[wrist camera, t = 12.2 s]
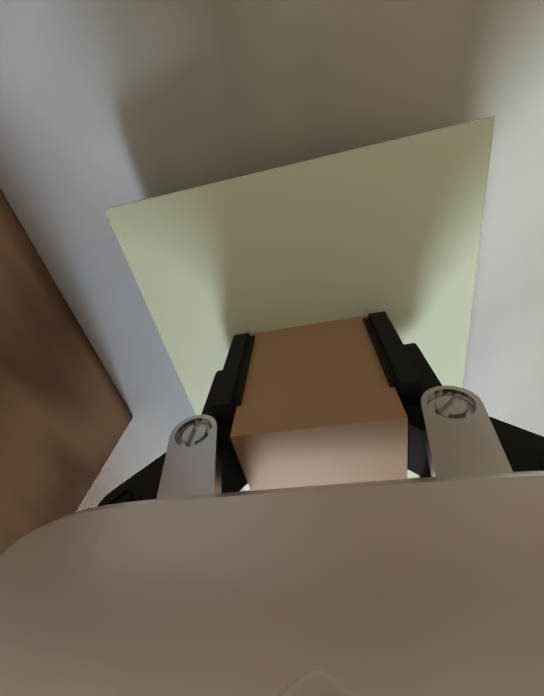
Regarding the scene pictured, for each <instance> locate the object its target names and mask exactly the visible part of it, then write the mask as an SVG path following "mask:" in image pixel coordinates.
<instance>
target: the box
mask: <svg viewBox="0 0 544 696" xmlns="http://www.w3.org/2000/svg"><path fill="white" fill-rule="evenodd" d="M132 418H133V416H132V414H131V413H130V411H129V409H128V408H127V406H126V404H125V402H124V401H123V399H122V397H121V396H120V394H119V392H118V391H117V389H116V387H115V385H114V384H113V382H112V380H111V379H110V377H109V375H108V373H107V372H106V370H105V368H104V367H103V365H102V363H101V361H100V360H99V358H98V356H97V355H96V353H95V351H94V349H93V348H92V346H91V344H90V343H89V341H88V339H87V337H86V336H85V334H84V332H83V331H82V329H81V327H80V325H79V324H78V322H77V320H76V319H75V317H74V315H73V314H72V312H71V310H70V308H69V307H68V305H67V303H66V302H65V300H64V298H63V296H62V295H61V293H60V291H59V290H58V288H57V286H56V284H55V283H54V281H53V279H52V278H51V276H50V274H49V272H48V271H47V269H46V267H45V266H44V264H43V262H42V260H41V259H40V257H39V255H38V254H37V252H36V250H35V249H34V247H33V245H32V243H31V242H30V240H29V238H28V237H27V235H26V233H25V231H24V230H23V228H22V226H21V225H20V223H19V221H18V219H17V218H16V216H15V214H14V213H13V211H12V209H11V207H10V206H9V204H8V202H7V201H6V199H5V197H4V195H3V194H2V192H1V190H0V555H1V554H2V553H3V552H5V551H6V550H7V549H8V548H9V547H10V546H11V545H12V544H13V543H15V542H16V541H17V540H18V539H20V538H21V537H23V536H25V535H26V534H28V533H30V532H31V531H33V530H35V529H37V528H39V527H41V526H42V525H45V524H47V523H49V522H52V521H54V520H56V519H58V518H61V517H63V516H66V515H69V514H72V513H75V512H76V510H77V509H78V507H79V505H80V504H81V502H82V500H83V499H84V497H85V495H86V494H87V492H88V490H89V489H90V487H91V485H92V484H93V482H94V480H95V479H96V477H97V476H98V474H99V472H100V471H101V469H102V467H103V466H104V464H105V462H106V461H107V459H108V457H109V456H110V454H111V452H112V451H113V449H114V447H115V446H116V444H117V442H118V441H119V439H120V437H121V436H122V434H123V432H124V431H125V429H126V428H127V426H128V424H129V423H130V421H131V419H132Z"/></svg>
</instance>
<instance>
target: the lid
mask: <svg viewBox="0 0 544 696" xmlns="http://www.w3.org/2000/svg"><path fill="white" fill-rule="evenodd" d="M494 118H495V117H489V118H483V119H478V120H474V121H469V122H465V123H461V124H457V125H453V126H448V127H444V128H440V129H436V130H432V131H428V132H423V133H419V134H415V135H411V136H407V137H403V138H398V139H394V140H390V141H386V142H382V143H377V144H373V145H369V146H365V147H361V148H357V149H352V150H348V151H344V152H340V153H336V154H332V155H327V156H323V157H319V158H315V159H311V160H306V161H302V162H298V163H294V164H290V165H286V166H281V167H277V168H273V169H269V170H265V171H261V172H256V173H252V174H248V175H244V176H240V177H235V178H231V179H227V180H223V181H219V182H215V183H210V184H206V185H202V186H198V187H194V188H190V189H185V190H181V191H177V192H173V193H169V194H165V195H160V196H156V197H152V198H148V199H144V200H139V201H135V202H131V203H127V204H123V205H119V206H115V207H112V208H108V209H105V210H104V211H105V213H106V215H107V218H108V220H109V222H110V224H111V227H112V229H113V231H114V233H115V236H116V238H117V240H118V242H119V245H120V247H121V249H122V251H123V254H124V256H125V258H126V260H127V263H128V265H129V267H130V269H131V272H132V274H133V276H134V278H135V280H136V283H137V285H138V287H139V289H140V292H141V294H142V296H143V298H144V301H145V303H146V305H147V307H148V310H149V312H150V314H151V316H152V319H153V321H154V323H155V325H156V328H157V330H158V332H159V334H160V337H161V339H162V341H163V343H164V346H165V348H166V350H167V352H168V355H169V357H170V359H171V361H172V364H173V366H174V368H175V370H176V373H177V375H178V377H179V379H180V382H181V384H182V386H183V388H184V391H185V393H186V395H187V397H188V400H189V402H190V404H191V406H192V409H193V411H194V413H195V415H201V414H202V411H203V408H204V405H205V402H206V399H207V397H208V394H209V391H210V388H211V385H212V382H213V379H214V377H215V374H216V372H217V371H219V370H223V367H224V364H225V361H226V358H227V355H228V352H229V349H230V346H231V343H232V339H233V336H234V335H238V334H244V333H249V334H250V336H255V341H254V345H253V350H252V355H251V360H250V364H249V369H248V374H247V379H246V384H245V388H244V393H243V398H242V403H241V406H237V407H236V412H235V416H234V421H233V425H232V430H231V434H230V438H231V441H232V443H233V446H234V449H235V451H236V454H237V456H238V459H239V461H240V464H241V466H242V469H243V472H244V474H245V477H246V479H247V482H248V484H247V485H245V486H244V487H243V489H244V490H249V489H250V490H251V491H254V490H266V489H279V488H291V487H304V486H317V485H330V484H343V483H356V482H369V481H383V480H397V479H407V477H415V476H418V475H417V474H415V473H414V472H412V471H410V470H407V450H408V417H407V415H406V412H405V410H404V408H403V405H402V403H401V401H400V398H399V396H398V393H397V391H396V389H395V387H391V388H390V386H389V384H388V381H387V379H386V376H385V374H384V371H383V369H382V366H381V364H380V361H379V359H378V356H377V354H376V351H375V349H374V346H373V344H372V341H371V339H370V336H369V334H368V331H367V329H366V326H365V324H364V321H363V319H364V318H368V314H370V313H376V312H383V311H385V312H386V314H387V316H388V318H389V319H390V321H391V323H392V325H393V326H394V328H395V330H396V332H397V334H398V335H399V337H400V339H401V341H402V343H403V344H410V343H416V345H417V346H418V347H419V349H420V351H421V352H422V354H423V355H424V357H425V359H426V360H427V362H428V363H429V365H430V367H431V368H432V370H433V371H434V373H435V375H436V376H437V378H438V379H439V381H440V383H441V384H442V386H444V385H447V386H456V387H460V388H462V387H463V378H464V370H465V361H466V353H467V345H468V336H469V328H470V319H471V311H472V303H473V294H474V286H475V277H476V269H477V261H478V252H479V244H480V236H481V227H482V219H483V210H484V202H485V194H486V185H487V177H488V168H489V160H490V152H491V143H492V135H493V126H494Z"/></svg>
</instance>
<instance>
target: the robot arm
mask: <svg viewBox="0 0 544 696" xmlns="http://www.w3.org/2000/svg"><path fill="white" fill-rule="evenodd" d="M363 321H364V324H365V326H366V329H367V331H368V334H369V336H370V339H371V341H372V344H373V346H374V349H375V351H376V354H377V356H378V359H379V361H380V364H381V366H382V369H383V371H384V374H385V376H386V379H387V381H388V384H389V386H390V388H391V387H395V389H396V391H397V393H398V396H399V398H400V401H401V403H402V405H403V408H404V410H405V412H406V415H407V417H408V450H407V470H410V471H412V472H414V473H415V474H417V475H418V478H411V479H397V480H383V481H369V482H356V483H343V484H330V485H317V486H304V487H291V488H279V489H266V490H254V491H244V489H243V487H244V486H245V485H247V484H248V482H247V479H246V477H245V474H244V472H243V469H242V466H241V464H240V461H239V459H238V456H237V454H236V451H235V449H234V446H233V443H232V441H231V438H230V434H231V430H232V425H233V421H234V416H235V412H236V407H237V406H241V403H242V398H243V393H244V388H245V384H246V379H247V374H248V369H249V364H250V360H251V355H252V350H253V345H254V341H255V336H250V334H249V333H244V334H238V335H234V336H233V339H232V343H231V346H230V349H229V352H228V355H227V358H226V361H225V364H224V367H223V370H219V371H217V372H216V374H215V377H214V379H213V382H212V385H211V388H210V391H209V394H208V397H207V399H206V402H205V405H204V408H203V411H202V414H201V415H195V416H192V417H189V418H187V419H185V420H184V421H182V422H181V423H179V424H178V425H177V426H176V427H175V428H174V430H173V431H172V433H171V435H170V438H169V443H168V447H167V452H166V453H165V454H163V455H162V456H160V457H159V458H158V459H156V460H155V461H153V462H152V463H151V464H149V465H148V466H146V467H145V468H143V469H142V470H141V471H139V472H138V473H136V474H135V475H134V476H132V477H131V478H129V479H128V480H127V481H125V482H124V483H122V484H121V485H120V486H118V487H117V488H115V489H114V490H112V491H111V492H110V493H109V494H108V495H107V496H105V497H104V499H103V500H102V501H101V502H100V503H99V505H98V507H95V508H90V509H86V510H82V511H79V512H76V513H72V514H69V515H66V516H63V517H61V518H58V519H56V520H54V521H52V522H49V523H47V524H45V525H42V526H41V527H39V528H37V529H35V530H33V531H31V532H30V533H28V534H26V535H25V536H23V537H21V538H20V539H18V540H17V541H16V542H15V543H13V544H12V545H11V546H10V547H9V548H8V549H7V550H6V551H5V552H3V553H2V554H1V555H0V696H544V437H542V436H540V435H537V434H534V433H532V432H529V431H526V430H524V429H521V428H518V427H516V426H513V425H510V424H508V423H505V422H502V421H500V420H497V419H494V418H491V417H489V416H488V413H487V411H486V409H485V407H484V404H483V402H482V401H481V400H480V398H479V397H478V396H477V395H475V394H474V393H473V392H471V391H469V390H466V389H464V388H460V387H456V386H447V385H444V386H442V384H441V383H440V381H439V379H438V378H437V376H436V375H435V373H434V371H433V370H432V368H431V367H430V365H429V363H428V362H427V360H426V359H425V357H424V355H423V354H422V352H421V351H420V349H419V347H418V346H417V345H416V343H410V344H403V343H402V341H401V339H400V337H399V335H398V334H397V332H396V330H395V328H394V326H393V325H392V323H391V321H390V319H389V318H388V316H387V314H386V312H385V311H383V312H376V313H370V314H368V318H364V319H363Z"/></svg>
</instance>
